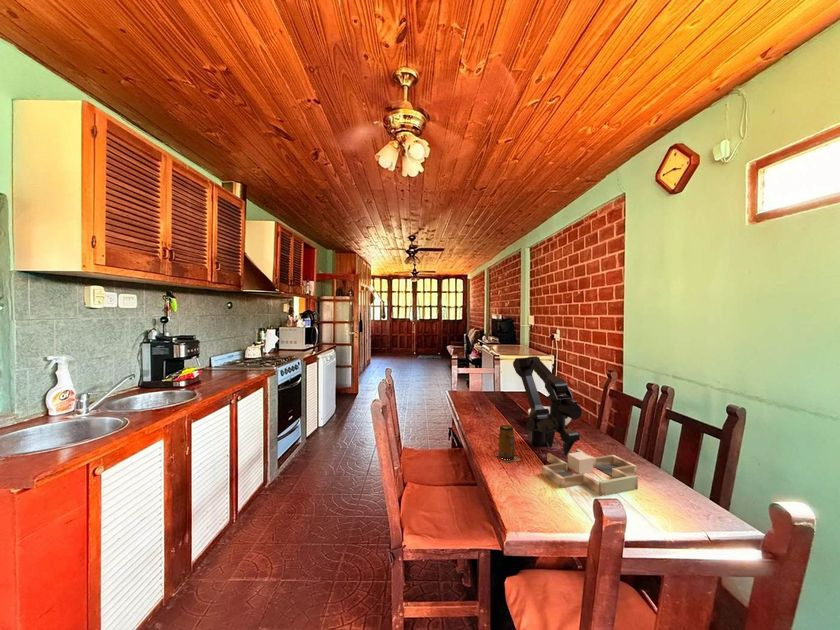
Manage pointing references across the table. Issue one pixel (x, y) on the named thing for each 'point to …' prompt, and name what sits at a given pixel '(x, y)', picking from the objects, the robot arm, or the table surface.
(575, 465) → the block
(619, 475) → the box
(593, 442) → the table surface
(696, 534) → the table surface
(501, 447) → the condiment
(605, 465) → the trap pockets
